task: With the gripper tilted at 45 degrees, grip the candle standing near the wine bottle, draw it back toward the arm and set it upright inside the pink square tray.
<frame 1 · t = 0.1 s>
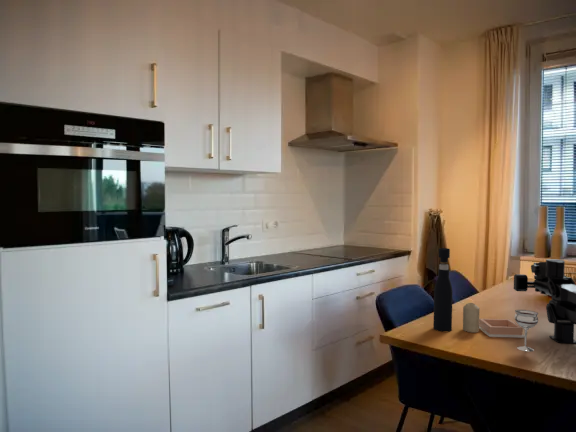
hand: (529, 279, 176), 17 cm above the table, tool horizontal, fingers open, 9 cm apart
wine bottle: (442, 329, 164), on the table
wineglass: (525, 349, 143), on the table
pink square tray: (499, 332, 161), on the table
candle: (470, 331, 163), on the table
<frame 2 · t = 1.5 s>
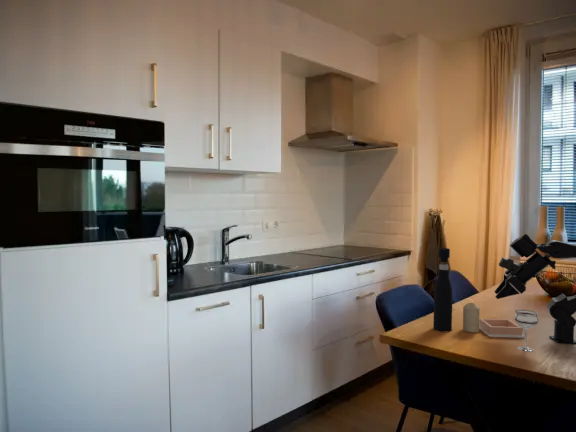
hand: (495, 295, 160), 14 cm above the table, tool tilted 45°, fingers open, 9 cm apart
nothing on the table moved.
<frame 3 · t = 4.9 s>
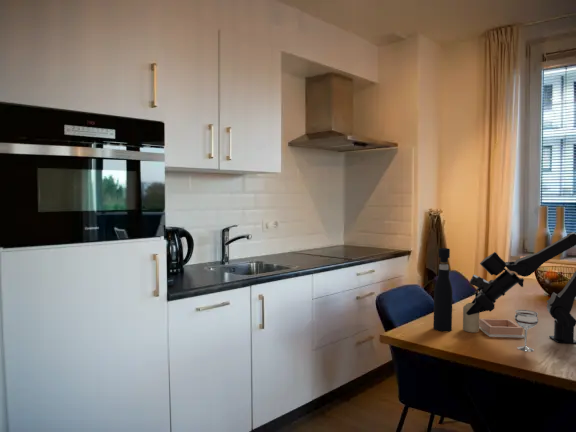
hand: (467, 312, 163), 7 cm above the table, tool tilted 45°, fingers closed on candle, 5 cm apart
candle: (470, 330, 163), on the table, touching gripper
everything else where it was.
when the fingers open (9 cm above the table, at t = 8.6 s): candle drops 1 cm, resting on pink square tray.
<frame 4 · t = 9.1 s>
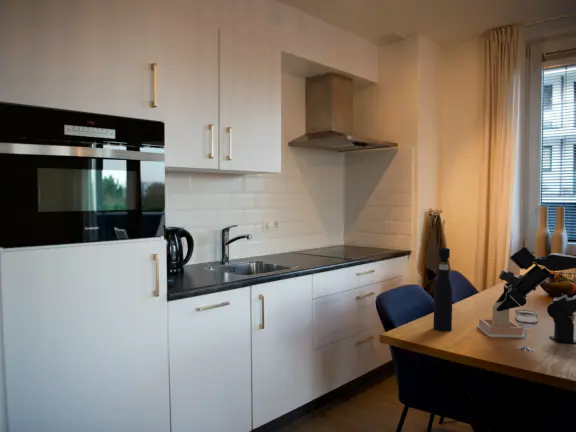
hand: (496, 307, 161), 9 cm above the table, tool tilted 45°, fingers open, 9 cm apart
candle: (500, 330, 161), point 1 cm above the table, touching pink square tray
everything else where it was.
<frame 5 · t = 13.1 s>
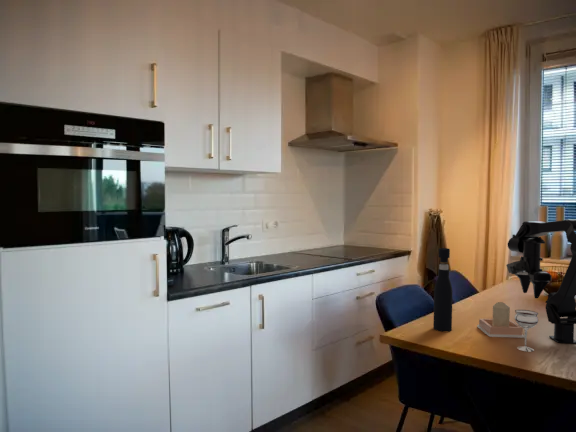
hand: (530, 295, 168), 12 cm above the table, tool pointing down, fingers open, 9 cm apart
nothing on the table moved.
at the end: candle 0.2 cm off-centre on the pink square tray, point 0.6 cm above the pink square tray's base; candle tilted 0°; the gripper is holding nothing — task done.
